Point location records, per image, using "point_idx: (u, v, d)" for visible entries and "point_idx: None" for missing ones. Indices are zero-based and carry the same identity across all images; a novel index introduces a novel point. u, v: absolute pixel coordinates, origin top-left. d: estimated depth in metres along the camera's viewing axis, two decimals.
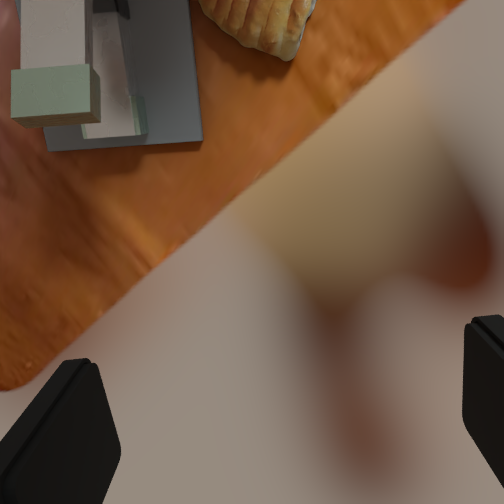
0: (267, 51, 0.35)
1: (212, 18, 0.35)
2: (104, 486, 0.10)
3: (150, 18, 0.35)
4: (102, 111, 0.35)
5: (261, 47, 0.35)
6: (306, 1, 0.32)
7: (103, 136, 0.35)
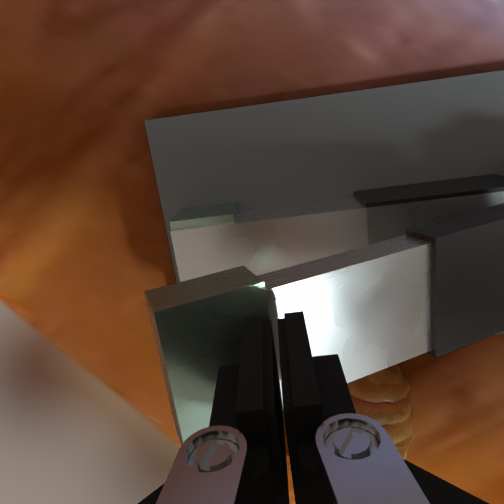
0: None
1: None
2: (284, 432, 0.11)
3: None
4: (218, 259, 0.20)
5: None
6: None
7: (177, 258, 0.20)
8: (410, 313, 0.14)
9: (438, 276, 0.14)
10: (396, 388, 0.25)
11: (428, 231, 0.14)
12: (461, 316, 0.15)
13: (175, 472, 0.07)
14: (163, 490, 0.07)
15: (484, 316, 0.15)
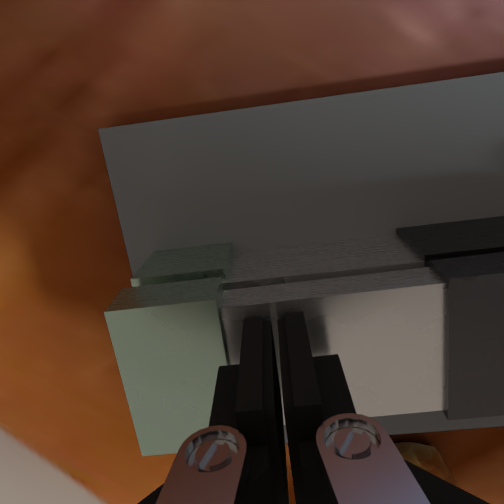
0: None
1: None
2: (283, 432, 0.11)
3: None
4: None
5: None
6: None
7: None
8: (413, 361, 0.12)
9: (454, 325, 0.11)
10: None
11: (452, 267, 0.12)
12: (490, 379, 0.12)
13: (175, 472, 0.07)
14: (163, 490, 0.07)
15: None
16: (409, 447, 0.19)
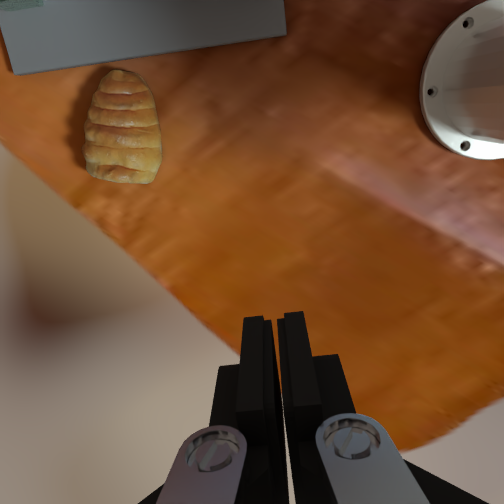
0: None
1: (97, 90, 0.36)
2: None
3: (120, 14, 0.34)
4: None
5: (85, 142, 0.37)
6: (124, 178, 0.36)
7: None
8: None
9: None
10: (133, 85, 0.35)
11: None
12: None
13: (175, 472, 0.07)
14: (163, 490, 0.07)
15: None
16: None
